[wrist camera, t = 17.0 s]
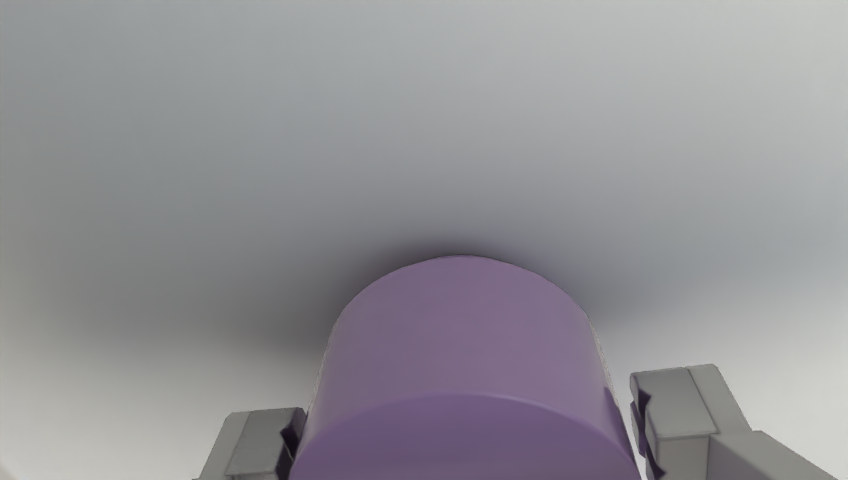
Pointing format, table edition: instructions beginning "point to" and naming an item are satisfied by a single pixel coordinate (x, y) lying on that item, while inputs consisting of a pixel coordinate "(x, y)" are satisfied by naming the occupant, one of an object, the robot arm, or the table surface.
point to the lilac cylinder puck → (463, 383)
